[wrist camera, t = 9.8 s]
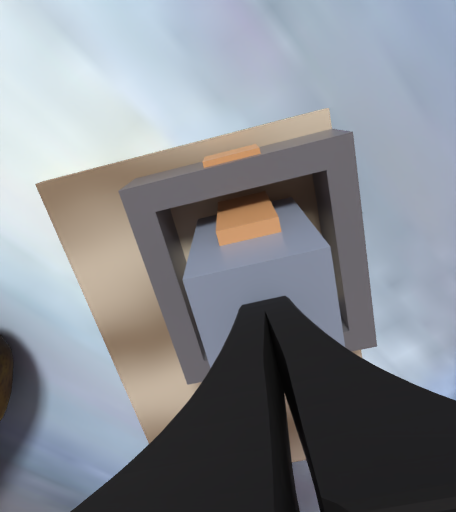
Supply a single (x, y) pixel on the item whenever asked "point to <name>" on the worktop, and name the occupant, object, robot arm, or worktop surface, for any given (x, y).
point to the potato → (5, 375)
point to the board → (132, 266)
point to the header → (242, 178)
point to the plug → (258, 266)
